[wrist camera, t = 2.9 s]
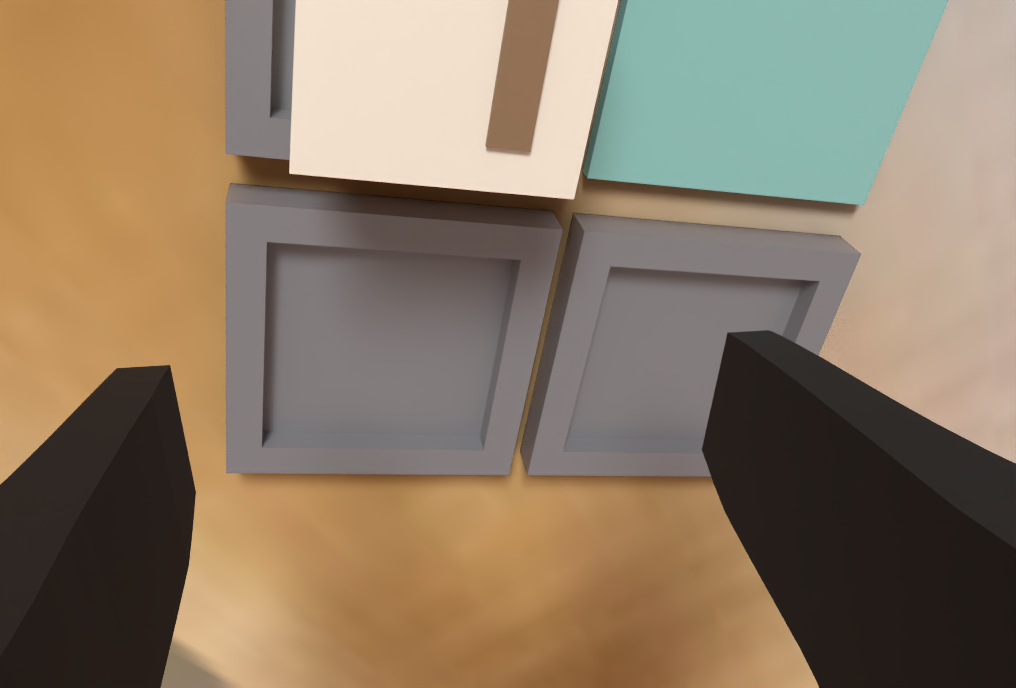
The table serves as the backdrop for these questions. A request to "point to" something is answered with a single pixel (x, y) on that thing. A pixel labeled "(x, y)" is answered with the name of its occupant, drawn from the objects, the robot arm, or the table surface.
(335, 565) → the table surface
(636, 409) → the tray
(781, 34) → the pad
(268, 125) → the tray
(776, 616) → the table surface
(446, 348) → the tray
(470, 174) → the letter cube
